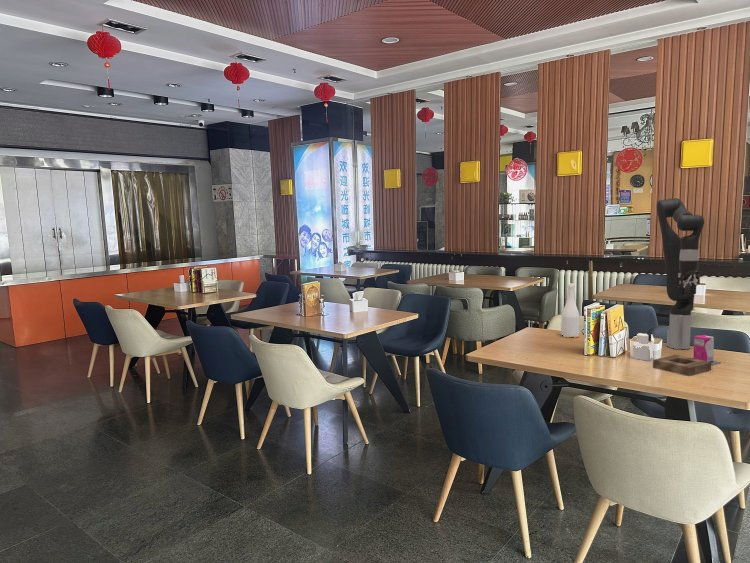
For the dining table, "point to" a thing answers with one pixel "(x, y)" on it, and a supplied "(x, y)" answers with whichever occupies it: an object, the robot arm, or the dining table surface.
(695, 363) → the frame
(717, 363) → the mat
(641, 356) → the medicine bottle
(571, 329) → the wine bottle
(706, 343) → the supplement box
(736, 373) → the dining table surface
